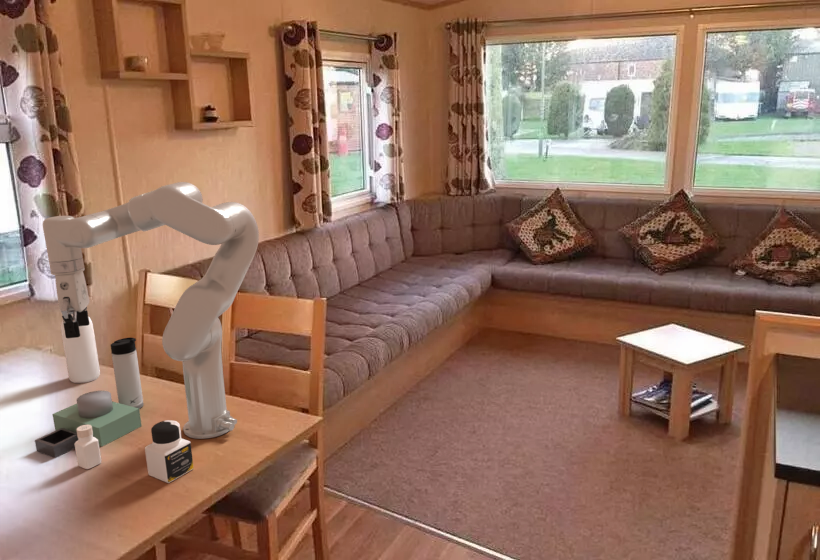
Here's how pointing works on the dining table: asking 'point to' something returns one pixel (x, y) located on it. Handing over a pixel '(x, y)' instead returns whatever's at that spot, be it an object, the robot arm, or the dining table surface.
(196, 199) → the robot arm
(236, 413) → the dining table surface
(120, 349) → the travel mug
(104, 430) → the green slab with dome
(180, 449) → the medicine bottle
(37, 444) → the dark brown square tray
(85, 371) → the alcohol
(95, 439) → the pepper shaker
